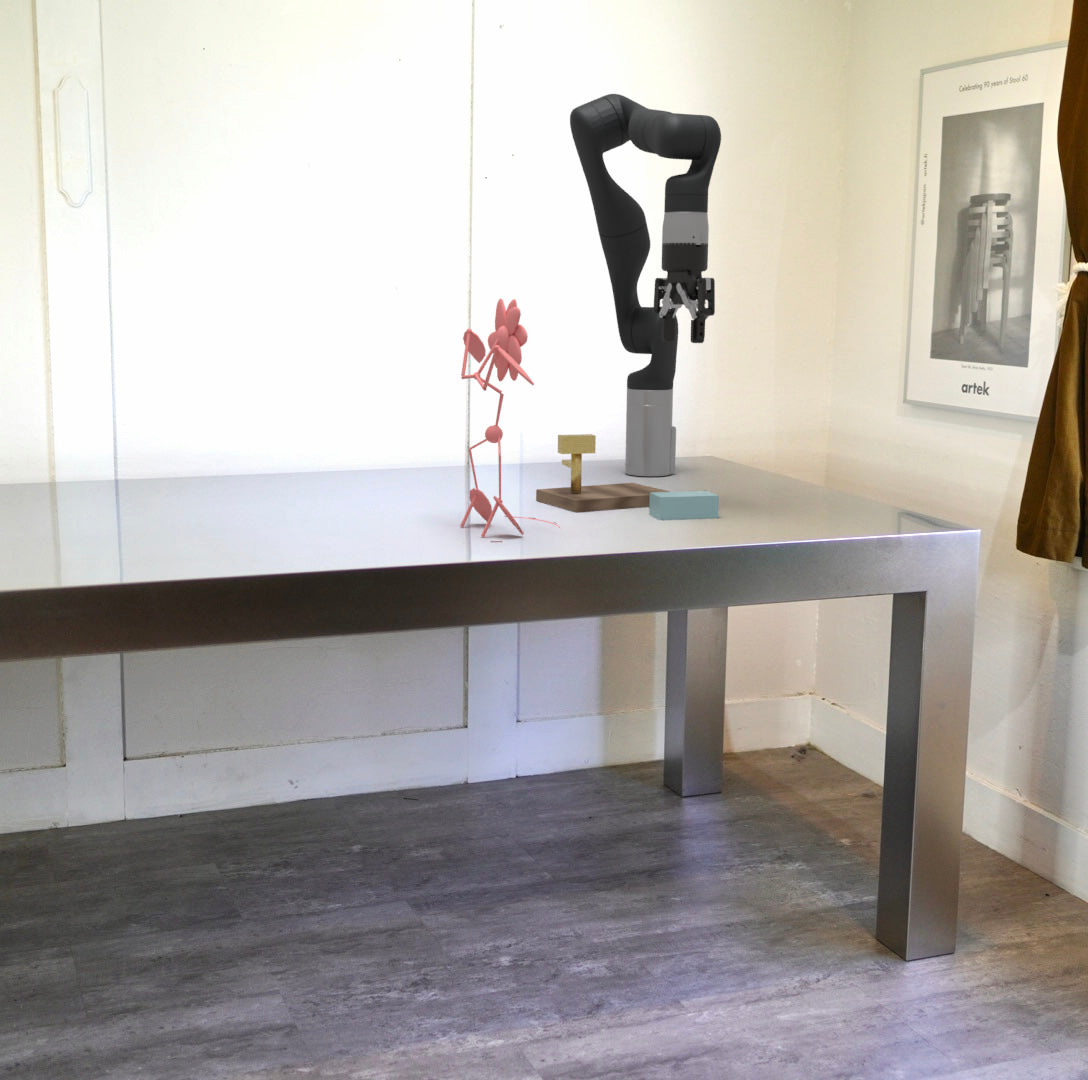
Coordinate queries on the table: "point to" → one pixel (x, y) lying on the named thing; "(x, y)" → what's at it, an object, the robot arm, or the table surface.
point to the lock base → (598, 497)
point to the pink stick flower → (505, 356)
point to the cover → (683, 505)
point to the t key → (576, 455)
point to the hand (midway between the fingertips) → (682, 341)
